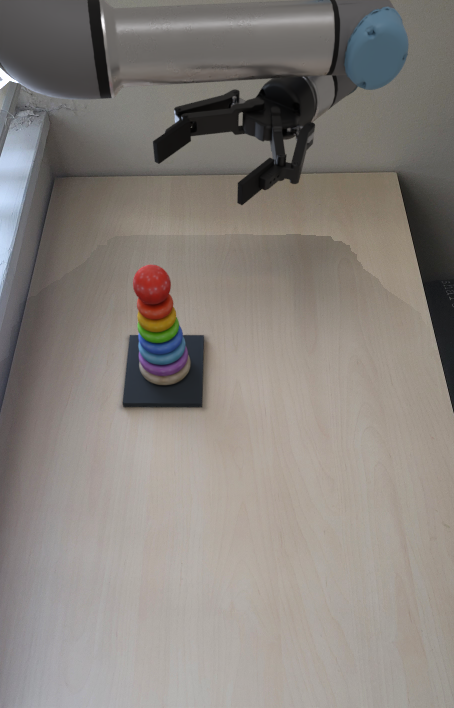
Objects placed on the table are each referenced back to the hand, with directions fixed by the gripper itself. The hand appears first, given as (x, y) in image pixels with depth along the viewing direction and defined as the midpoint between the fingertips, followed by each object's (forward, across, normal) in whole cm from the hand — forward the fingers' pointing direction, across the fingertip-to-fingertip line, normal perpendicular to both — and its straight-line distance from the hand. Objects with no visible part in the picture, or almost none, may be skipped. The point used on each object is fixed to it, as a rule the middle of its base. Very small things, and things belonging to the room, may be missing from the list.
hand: (196, 173), depth 80 cm
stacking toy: (+10, 0, -28) cm, 29 cm away
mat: (+10, 0, -28) cm, 30 cm away
